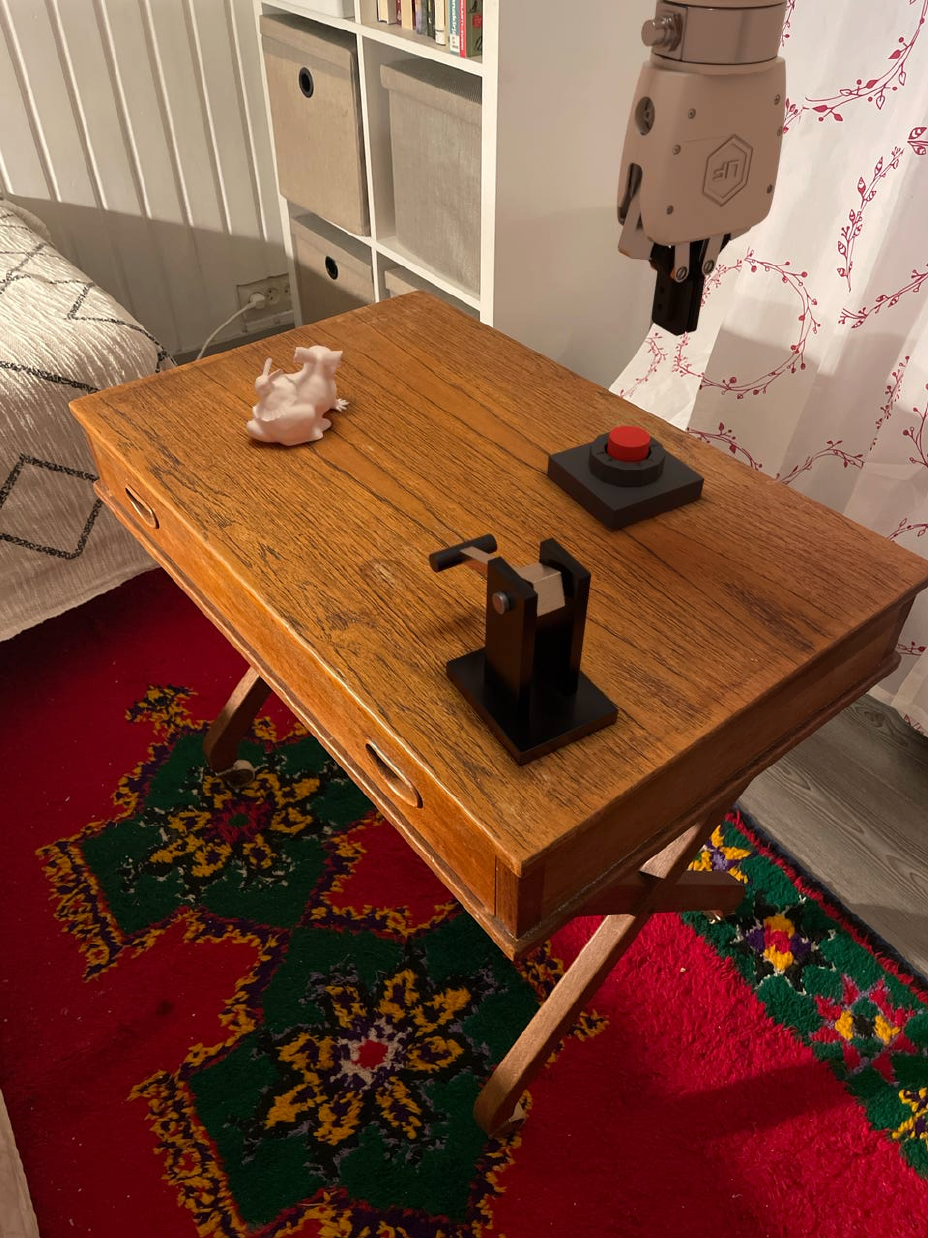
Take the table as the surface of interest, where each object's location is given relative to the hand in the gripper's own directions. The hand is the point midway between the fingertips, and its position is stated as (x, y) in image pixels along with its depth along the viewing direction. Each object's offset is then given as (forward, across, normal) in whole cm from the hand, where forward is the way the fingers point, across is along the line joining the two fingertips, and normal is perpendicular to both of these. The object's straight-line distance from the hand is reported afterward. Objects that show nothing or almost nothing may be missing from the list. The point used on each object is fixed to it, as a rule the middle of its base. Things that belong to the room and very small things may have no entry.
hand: (673, 326), depth 70 cm
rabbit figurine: (+19, -18, +30) cm, 40 cm away
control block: (+19, +4, +8) cm, 21 cm away
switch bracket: (+19, -18, -11) cm, 29 cm away
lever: (+12, -18, -7) cm, 23 cm away
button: (+16, +4, +8) cm, 18 cm away
